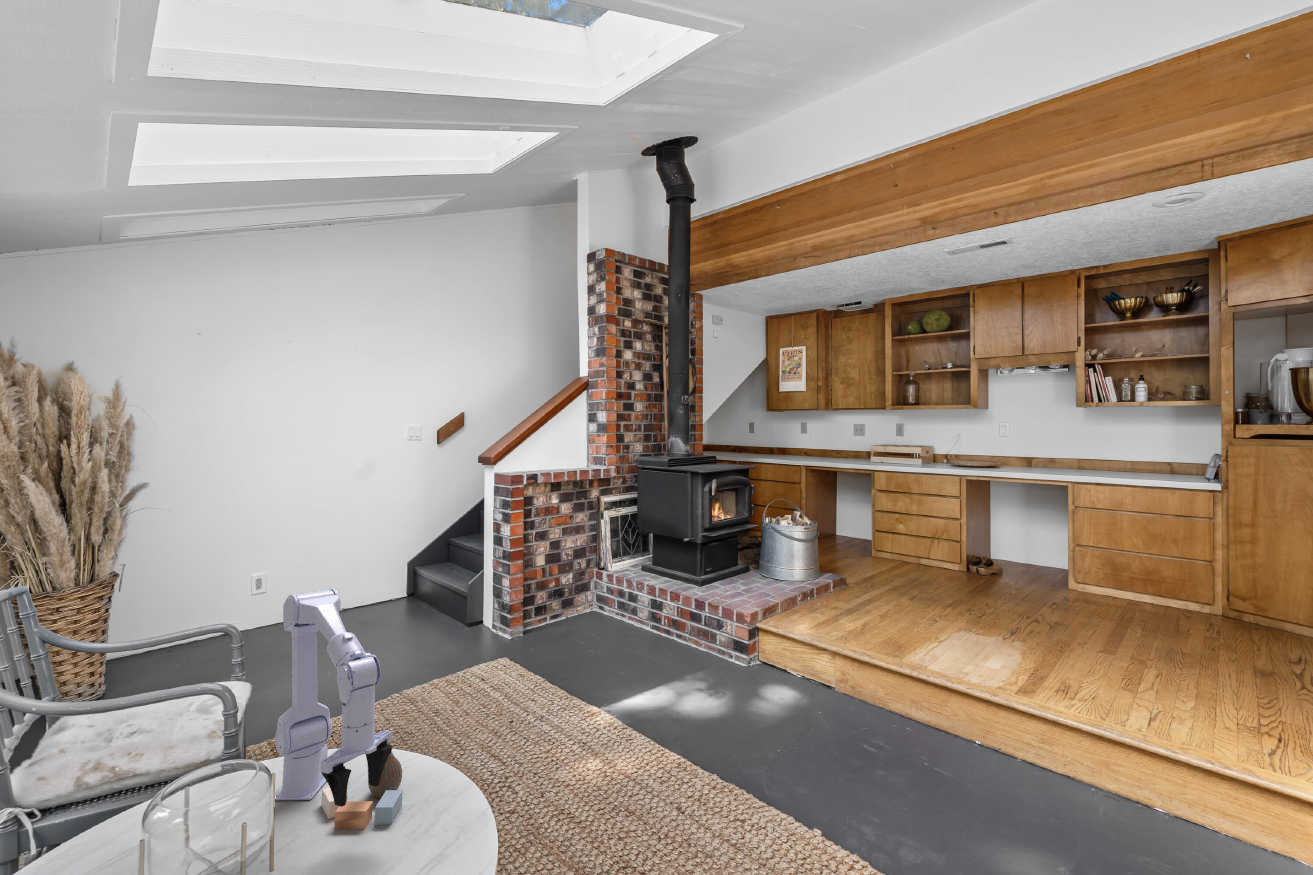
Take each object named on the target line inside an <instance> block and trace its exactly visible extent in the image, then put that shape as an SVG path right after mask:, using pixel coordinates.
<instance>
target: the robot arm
mask: <svg viewBox="0 0 1313 875" xmlns="http://www.w3.org/2000/svg"><path fill="white" fill-rule="evenodd" d="M341 601H342V600H341V596H340V594H339V592H338V591H337V590H336V588H334V587H333V588H329V589H325V590H317V591H312V592H305V593H298V594H293V593H291V594H289V595H288V596H287V597H286V599H285V600H284V603H283V607H282V608H283V609H282V610H283V611H282V612H283V613H282V616H283V621H282V624H283V630H284V631H285V632H290V633H291V686H292V689H291V691H292V692H291V694H292V695H291V696H292V697H291V698H292V700H291V701H292V702H291V707H289V708H288V709H287V710H286V711H285V712H284V713H282V715H280V717H278V718H277V726H276V730H275V735H274V737H275V738H274V739H275V740H274V741H275V748H276V751H277V753H278V754H279V755H280V756H283V768H282V769H283V770H282V788H281V789H279V791H278V792H277V793H276V794H275V795H276V800H275V801H304V800H305V801H307V800H309V801H310V800H312V799H313V798H314V797H315V796H316V794H317V793H318V792H319V791H320V790H321V788H322V787H323V786H324V785H325V783H326V782H327V784H328V787H330V789H331V792H332V795H333V798H334V803H335V805H337V806H341V807H343V806H345V805H346V800H347V801H348V797H347V796H348V784H349V779H350V775H351V774H352V769H349V768H346V765H345V764H346V763H348V762H350V761H352V760H353V759H357V758H358V757H360V756H363V755H365V757H366V761H367V762H366V763H367V783H368V782H369V785H371V786H375V787H377V786H379V783H380V779H381V775H382V772H383V768H384V765H385V763H386V760H387V758H388V756H389V754H390V753H391V752H392V750H393V745H391V744H389V743H390V742H393V741H392V740H393V739H392V738H393V737H392V735H393V734H392V733H393V732H392V730H387V729H384V730H381V731H380V732H377V733H375V724H376V723H375V721H376V720H375V719H376V718H375V713H376V712H375V710H376V709H375V708H376V706H375V704H376V703H375V702H376V700H375V699H376V698H375V697H376V685H378V684H379V683H380V680H381V676H382V670H381V664H380V660H379V659H378V657H377V656H376V655H375V654H371V653H370V652H366V650H364V648H363V646H362V643H360V641H359V639H358V637H357V636H356V635H355V634H354V633H353V632H347V630H346V627H345V625H344V623H343V621H342V618H341V615H340V609H341V603H342V602H341ZM318 631H319V632H320V633H321V635H323V637H324V638H325V639H326V641H327V642H328V643H327V646H326V648H325V649H326V653H327V655H328V657H329V658H330V660H331V662H332V664H333V666H334V667H335V669H336V671H337V673H336V683H337V688H338V695H339V696H338V697H339V701H340V702H341V747H339V748H338V749H337V750H336V751H335V752H333V753H332V754H330V755H329V756H328V751H329V749H328V746H327V744H326V742H328V741H329V740H330V738H331V736H332V732H333V724H332V719H331V714H330V709H329V707H328V706H327V705H325V704H323V703H321V702H318Z"/></svg>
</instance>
